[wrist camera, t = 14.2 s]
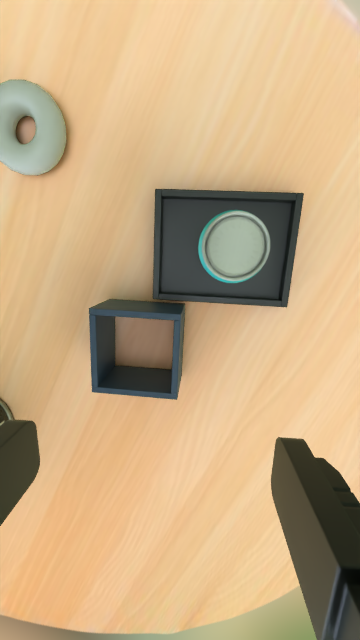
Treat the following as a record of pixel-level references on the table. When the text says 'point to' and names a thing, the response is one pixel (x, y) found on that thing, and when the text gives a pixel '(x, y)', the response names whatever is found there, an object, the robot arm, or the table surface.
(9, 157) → the donut
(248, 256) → the beverage can
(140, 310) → the caddy
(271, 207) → the tray
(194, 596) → the table surface
